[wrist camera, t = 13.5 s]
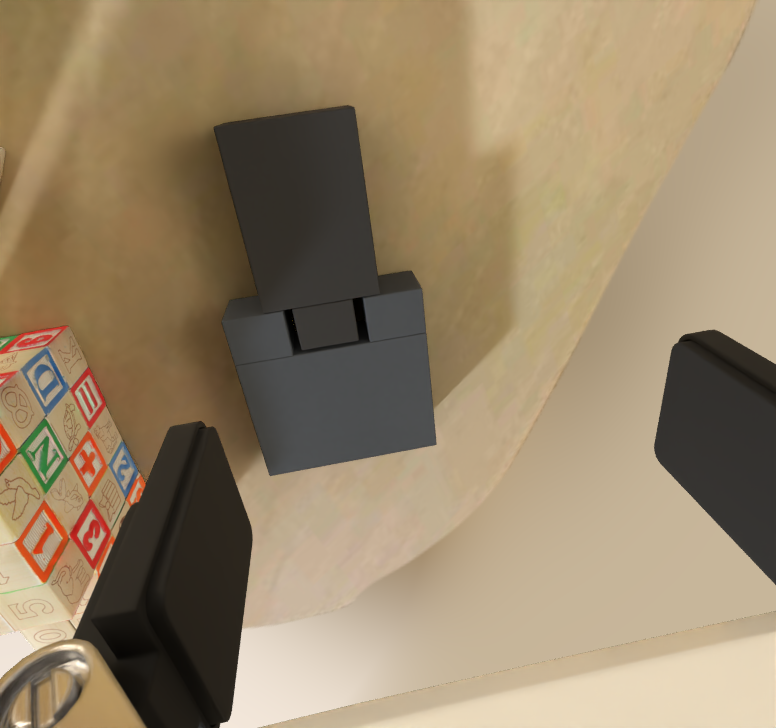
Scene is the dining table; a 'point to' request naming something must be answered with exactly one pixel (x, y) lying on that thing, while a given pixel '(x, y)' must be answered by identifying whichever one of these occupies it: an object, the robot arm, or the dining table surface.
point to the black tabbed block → (304, 217)
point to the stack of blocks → (55, 485)
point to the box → (1, 161)
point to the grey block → (336, 381)
